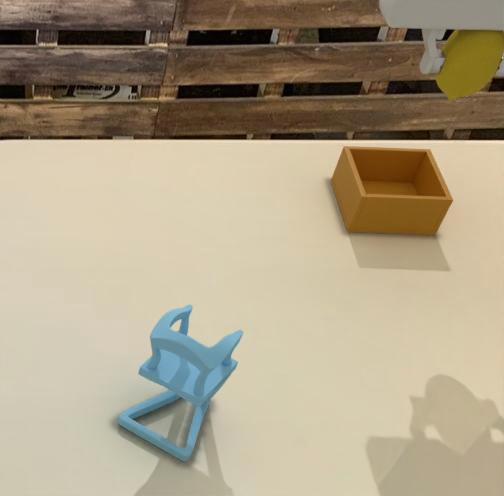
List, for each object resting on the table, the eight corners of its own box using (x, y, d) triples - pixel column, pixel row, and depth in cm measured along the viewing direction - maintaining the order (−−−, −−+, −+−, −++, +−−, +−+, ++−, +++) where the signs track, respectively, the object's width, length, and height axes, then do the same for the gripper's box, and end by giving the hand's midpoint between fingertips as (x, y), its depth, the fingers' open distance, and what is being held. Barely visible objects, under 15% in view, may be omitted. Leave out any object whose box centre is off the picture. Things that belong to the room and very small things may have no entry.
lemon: (438, 79, 93) (475, -3, 87) (488, 100, 91) (530, 16, 84) (411, 99, 91) (447, 15, 84) (462, 120, 89) (503, 36, 82)
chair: (230, 413, 87) (265, 317, 77) (185, 463, 83) (216, 368, 74) (162, 377, 90) (188, 279, 80) (116, 423, 86) (137, 327, 76)
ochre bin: (413, 184, 110) (430, 149, 106) (435, 235, 104) (453, 200, 100) (330, 180, 110) (343, 145, 106) (347, 231, 104) (361, 196, 101)
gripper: (643, -101, 79) (558, 59, 90) (409, -106, 79) (353, 53, 91) (673, -71, 75) (580, 91, 87) (427, -77, 76) (366, 86, 87)
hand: (462, 72), depth 89 cm, fingers closed on lemon, 5 cm apart
